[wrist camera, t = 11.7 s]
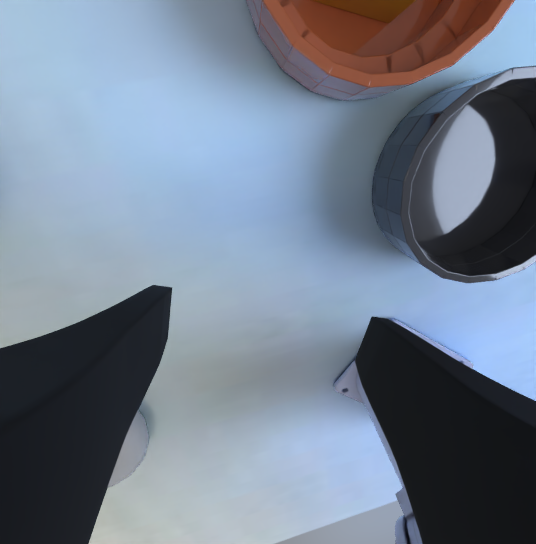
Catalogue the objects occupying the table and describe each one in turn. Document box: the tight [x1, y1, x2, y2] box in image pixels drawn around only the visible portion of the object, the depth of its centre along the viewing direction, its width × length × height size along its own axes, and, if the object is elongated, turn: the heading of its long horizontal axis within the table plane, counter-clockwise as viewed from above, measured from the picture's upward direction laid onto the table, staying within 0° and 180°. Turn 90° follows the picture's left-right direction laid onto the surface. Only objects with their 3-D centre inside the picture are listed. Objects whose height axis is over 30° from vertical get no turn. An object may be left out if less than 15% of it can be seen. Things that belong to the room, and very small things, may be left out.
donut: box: [108, 410, 149, 487], centre depth 24 cm, size 10×4×10 cm
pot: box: [372, 66, 536, 283], centre depth 17 cm, size 11×11×4 cm
